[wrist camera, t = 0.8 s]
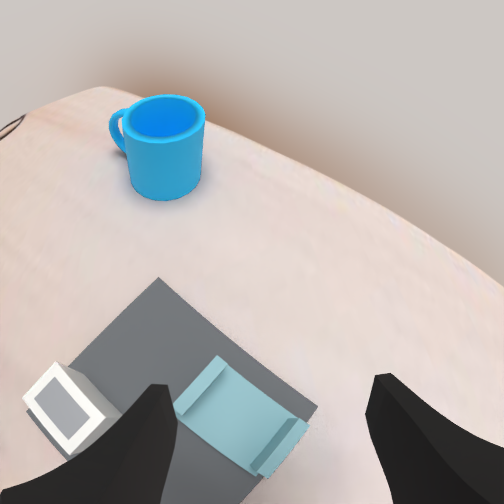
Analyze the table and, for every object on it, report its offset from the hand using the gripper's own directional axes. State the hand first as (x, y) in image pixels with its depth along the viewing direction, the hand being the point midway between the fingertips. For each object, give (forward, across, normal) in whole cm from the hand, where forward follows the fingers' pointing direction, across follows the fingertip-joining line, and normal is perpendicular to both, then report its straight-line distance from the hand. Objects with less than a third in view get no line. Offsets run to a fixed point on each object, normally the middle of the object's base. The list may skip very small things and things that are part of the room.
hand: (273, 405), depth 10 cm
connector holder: (+10, +2, +11) cm, 15 cm away
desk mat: (+9, +8, +11) cm, 17 cm away
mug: (+28, +12, -7) cm, 31 cm away
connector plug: (+8, +14, +10) cm, 19 cm away
